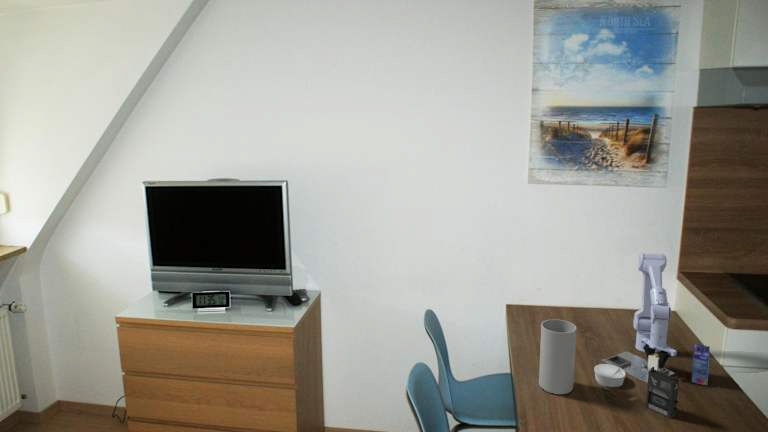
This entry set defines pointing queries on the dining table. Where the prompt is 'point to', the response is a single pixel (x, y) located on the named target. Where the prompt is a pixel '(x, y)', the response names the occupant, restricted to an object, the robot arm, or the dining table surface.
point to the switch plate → (633, 365)
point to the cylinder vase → (557, 356)
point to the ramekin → (609, 375)
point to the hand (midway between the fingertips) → (655, 365)
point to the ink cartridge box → (700, 364)
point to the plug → (654, 362)
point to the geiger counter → (662, 393)
